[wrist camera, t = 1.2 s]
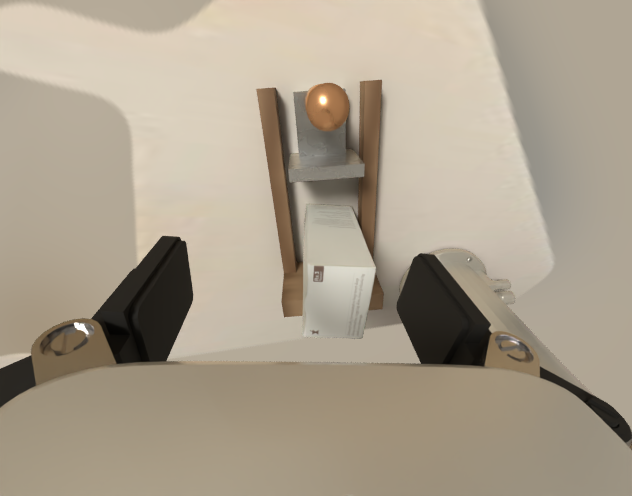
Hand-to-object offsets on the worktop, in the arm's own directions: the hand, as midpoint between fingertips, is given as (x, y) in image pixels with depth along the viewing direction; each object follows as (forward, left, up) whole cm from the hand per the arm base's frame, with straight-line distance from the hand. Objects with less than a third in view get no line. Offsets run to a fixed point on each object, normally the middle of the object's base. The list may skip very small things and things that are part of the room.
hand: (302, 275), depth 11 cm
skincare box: (-2, +10, -23) cm, 25 cm away
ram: (-2, -3, -23) cm, 23 cm away
